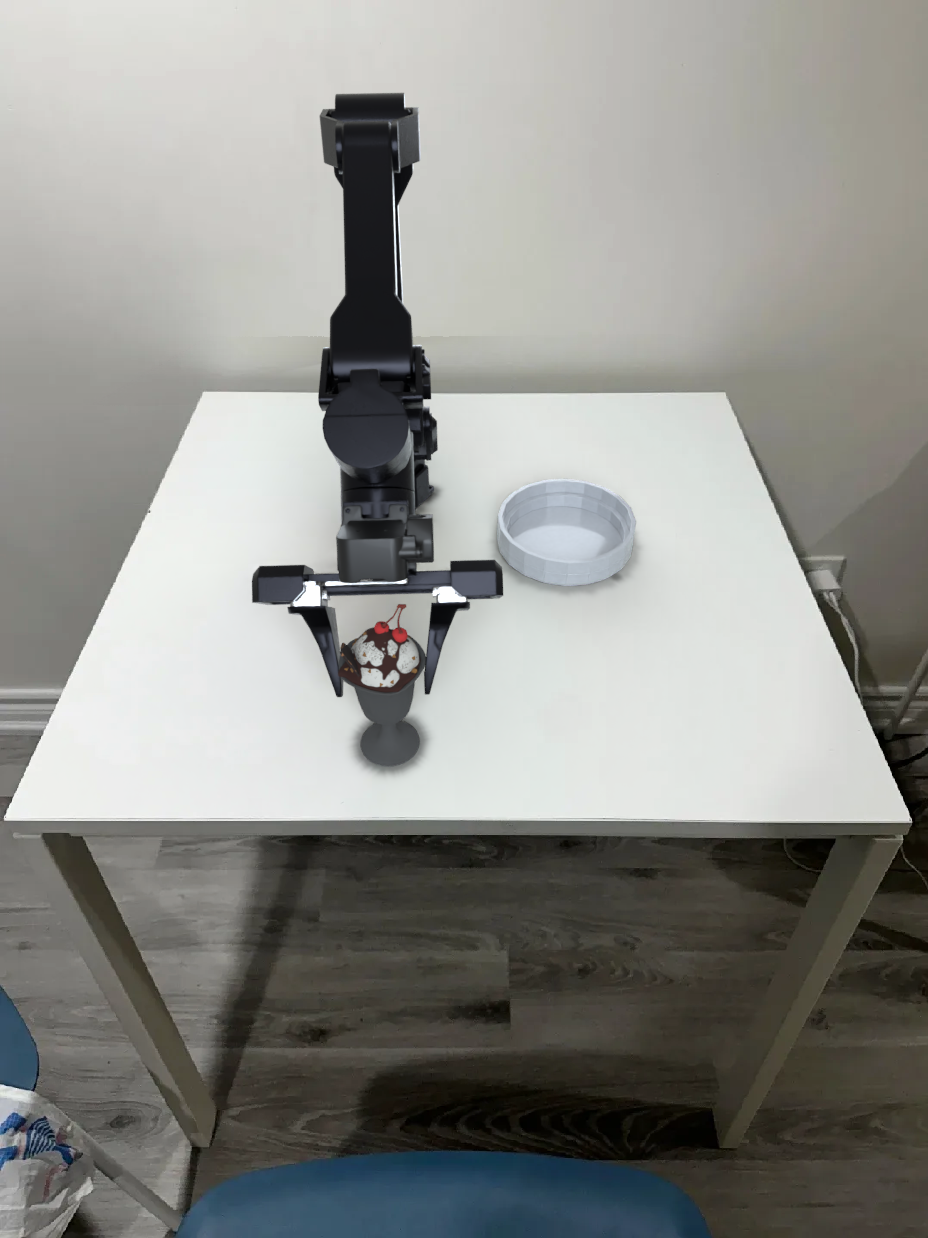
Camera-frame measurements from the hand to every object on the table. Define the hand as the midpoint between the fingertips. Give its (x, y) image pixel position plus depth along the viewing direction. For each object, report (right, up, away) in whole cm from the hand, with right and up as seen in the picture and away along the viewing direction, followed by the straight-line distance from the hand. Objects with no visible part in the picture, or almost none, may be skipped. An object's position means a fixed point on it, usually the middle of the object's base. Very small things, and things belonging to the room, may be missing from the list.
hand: (383, 695), depth 68 cm
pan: (+17, +14, +25) cm, 33 cm away
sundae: (0, -5, +6) cm, 8 cm away
